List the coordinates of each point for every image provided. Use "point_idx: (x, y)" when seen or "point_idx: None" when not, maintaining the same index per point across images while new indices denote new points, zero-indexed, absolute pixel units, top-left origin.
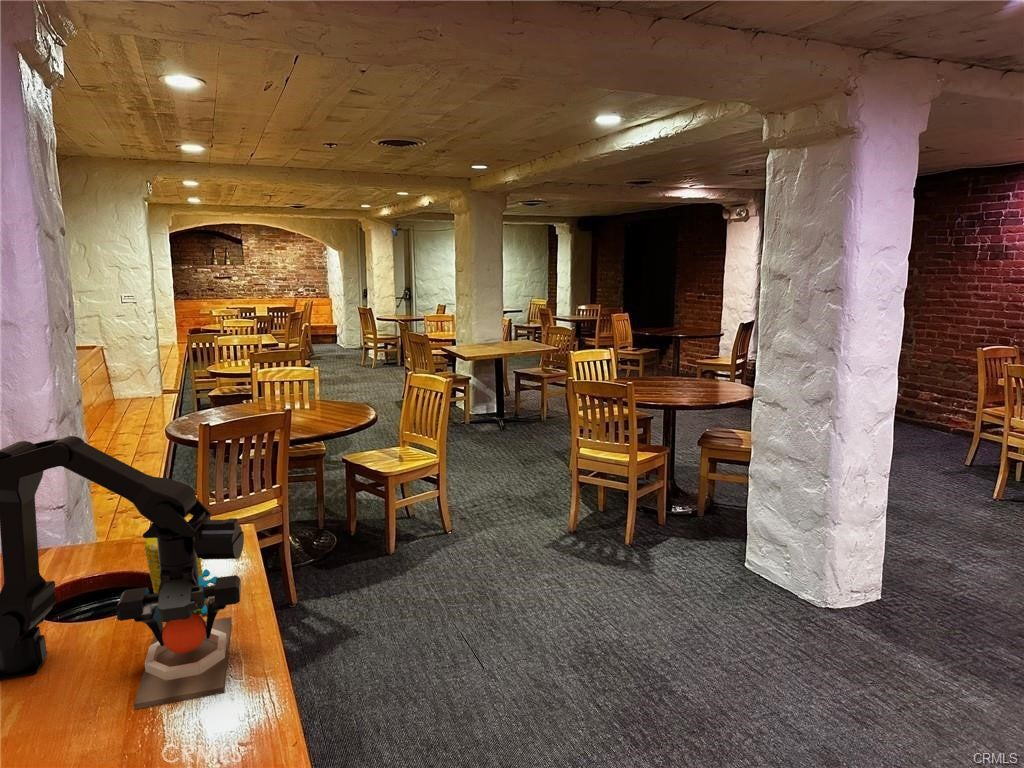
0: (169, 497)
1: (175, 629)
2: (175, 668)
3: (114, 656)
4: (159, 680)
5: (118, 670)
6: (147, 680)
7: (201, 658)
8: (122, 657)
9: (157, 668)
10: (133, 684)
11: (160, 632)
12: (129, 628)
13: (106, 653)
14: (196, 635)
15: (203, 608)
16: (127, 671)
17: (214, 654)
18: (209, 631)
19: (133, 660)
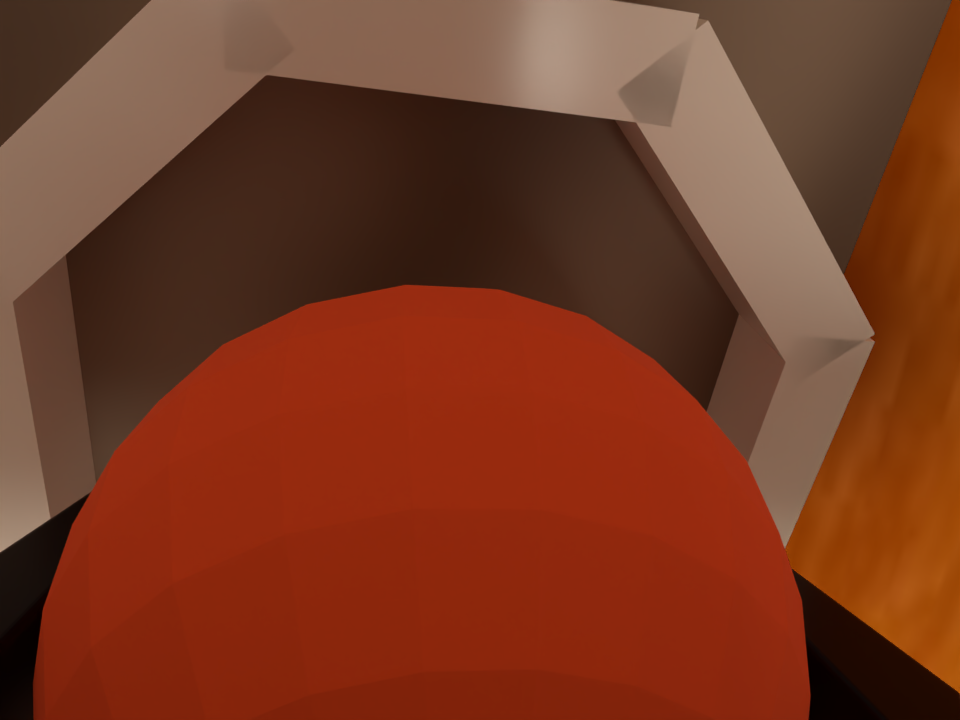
0: None
1: (649, 626)
2: (567, 38)
3: (918, 614)
4: (728, 44)
5: (947, 448)
6: (838, 113)
7: (263, 307)
8: (877, 589)
9: (777, 159)
10: (908, 193)
11: (828, 675)
12: None
13: (949, 656)
14: (180, 428)
15: None
16: (896, 411)
17: (19, 177)
18: (19, 556)
19: (822, 533)
